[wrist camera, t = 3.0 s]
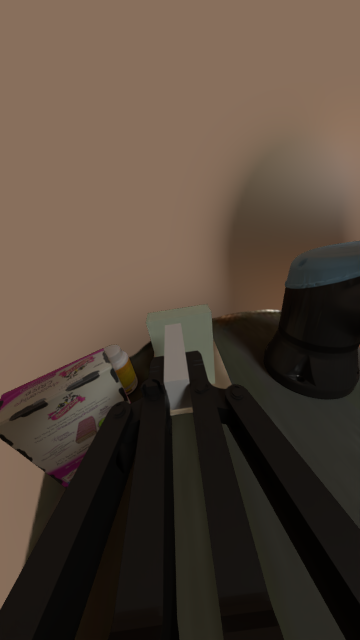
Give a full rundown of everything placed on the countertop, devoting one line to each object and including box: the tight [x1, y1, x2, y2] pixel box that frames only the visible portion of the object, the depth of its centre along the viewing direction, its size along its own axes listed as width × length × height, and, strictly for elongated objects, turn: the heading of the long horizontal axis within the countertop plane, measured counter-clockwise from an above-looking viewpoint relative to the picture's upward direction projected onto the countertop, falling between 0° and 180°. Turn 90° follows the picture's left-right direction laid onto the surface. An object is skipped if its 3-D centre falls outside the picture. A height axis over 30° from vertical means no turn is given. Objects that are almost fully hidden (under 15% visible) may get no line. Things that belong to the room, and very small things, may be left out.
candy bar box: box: [0, 348, 131, 488], centre depth 23 cm, size 11×5×16 cm, turn 125°
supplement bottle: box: [104, 345, 138, 395], centre depth 35 cm, size 6×6×10 cm
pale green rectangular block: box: [146, 304, 215, 384], centre depth 31 cm, size 10×3×16 cm, turn 94°
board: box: [154, 340, 232, 415], centre depth 38 cm, size 16×18×1 cm
